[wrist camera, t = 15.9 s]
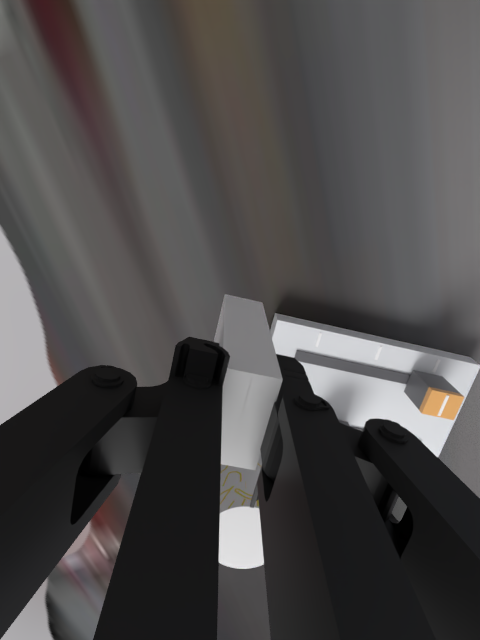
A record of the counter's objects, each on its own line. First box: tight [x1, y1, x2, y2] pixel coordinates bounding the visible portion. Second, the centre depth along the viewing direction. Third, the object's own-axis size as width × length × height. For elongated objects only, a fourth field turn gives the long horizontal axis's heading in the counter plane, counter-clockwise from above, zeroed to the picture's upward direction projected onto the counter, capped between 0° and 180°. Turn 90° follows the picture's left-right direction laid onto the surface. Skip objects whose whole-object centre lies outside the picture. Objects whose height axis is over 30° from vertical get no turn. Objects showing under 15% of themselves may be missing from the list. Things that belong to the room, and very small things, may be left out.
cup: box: [219, 454, 264, 569], centre depth 48 cm, size 8×8×12 cm
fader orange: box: [404, 370, 464, 420], centre depth 45 cm, size 3×4×5 cm
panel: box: [270, 313, 480, 457], centre depth 50 cm, size 15×24×3 cm, turn 76°
